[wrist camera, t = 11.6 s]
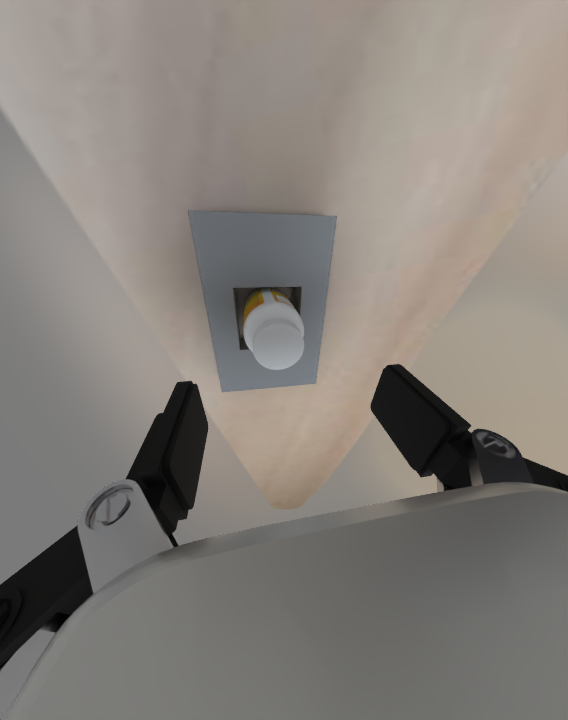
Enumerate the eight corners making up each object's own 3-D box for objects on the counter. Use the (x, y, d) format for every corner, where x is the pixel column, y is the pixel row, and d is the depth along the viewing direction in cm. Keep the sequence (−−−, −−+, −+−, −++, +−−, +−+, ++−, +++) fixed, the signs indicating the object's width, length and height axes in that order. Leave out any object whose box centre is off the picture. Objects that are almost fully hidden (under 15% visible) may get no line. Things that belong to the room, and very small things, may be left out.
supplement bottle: (248, 334, 24) (249, 382, 16) (239, 288, 22) (235, 320, 13) (291, 328, 25) (313, 372, 17) (288, 282, 22) (313, 309, 14)
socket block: (196, 214, 18) (187, 210, 15) (324, 218, 19) (336, 216, 17) (224, 377, 27) (222, 392, 25) (309, 370, 29) (315, 383, 26)
